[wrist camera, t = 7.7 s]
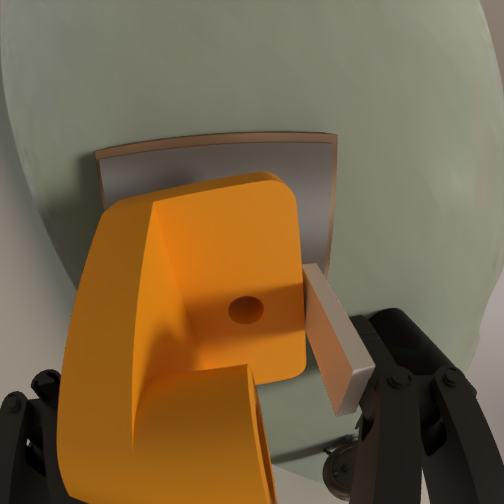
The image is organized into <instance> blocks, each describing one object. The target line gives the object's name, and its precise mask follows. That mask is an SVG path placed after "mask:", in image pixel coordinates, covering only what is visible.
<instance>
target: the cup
mask: <svg viewBox="0 0 504 504" xmlns="http://www.w3.org/2000/svg"><path fill="white" fill-rule="evenodd" d="M368 321H370V322H371V324H372V325H373V327H374V329H375V330H376V333H378V335H379V336H380V340H382V341H383V343H384V344H385V346H386V348H387V349H388V351H389V353H390V354H391V356H392V357H393V359H394V361H395V362H396V364H397V365H398V366H401V367H404V368H406V369H408V370H410V371H411V373H412V374H413V375H417V376H424V375H434V374H435V373H436V371H437V370H438V369H439V368H440V367H442V366H444V365H451V366H454V364H453V363H452V362H451V361H450V360H449V359H448V358H447V357H446V356H445V355H444V354H443V352H442V351H441V350H440V349H439V348H438V347H437V346H436V345H435V344H434V343H433V342H432V341H431V340H430V339H429V338H428V337H427V336H426V334H425V333H424V332H423V331H422V330H421V329H420V328H419V327H418V326H417V325H416V324H415V323H414V322H413V321H412V320H411V319H410V318H409V317H408V316H407V315H406V314H405V313H404V312H403V311H402V310H400V309H397V308H389V309H385V310H382V311H380V312H379V313H377V314H375V315H374V316H373V317H371V318H370V319H369V320H368ZM454 367H455V366H454ZM467 381H468V380H467ZM468 383H469V385H470V387H471V389H472V391H473V393H474V395H475V397H476V394H477V391H476V389H475V388H474V387H473V386H472V385H471V384H470V382H469V381H468Z"/></svg>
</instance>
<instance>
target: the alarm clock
mask: <svg viewBox="0 0 504 504" xmlns="http://www.w3.org/2000/svg"><path fill="white" fill-rule="evenodd" d="M346 440H347V443H345V444H343V445H341V446H339V447H338V448H336V449H335V450H334V451H333V452H330V451H327V450H326V449H323V452H325V453H327V455H329V457H328V458H327V460H326V462H325V464H324V467H323V480H324V483H325V485H326V487H327V488H328V490H329V491H330V492H331V493H332V494H333V495H334V496H335V497H337V498H339V499H341V500H344V501H349V500H350V495H351V489H352V483H353V476H354V470H355V462H356V454H357V445H358V440H353V441H351V438H350V436H349V435H346Z"/></svg>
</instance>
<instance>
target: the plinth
mask: <svg viewBox="0 0 504 504" xmlns="http://www.w3.org/2000/svg"><path fill="white" fill-rule="evenodd" d="M337 141H338V135H336V134H330V133H323V132H291V131H265V132H233V133H216V134H202V135H191V136H181V137H172V138H163V139H156V140H149V141H142V142H135V143H129V144H123V145H117V146H112V147H108V148H104V149H101V150H98V151H95V157H96V165H97V172H98V179H99V186H100V192H101V198H102V203H103V209H104V212H105V211H107V210H108V209H109V208H110V207H111V206H112V205H114V204H115V203H116V202H117V201H119V200H123V199H127V198H131V197H135V196H139V195H143V194H147V193H151V192H155V191H160V190H164V189H169V188H173V187H178V186H183V185H187V184H192V183H197V182H202V181H207V180H213V179H218V178H223V177H229V176H235V175H241V174H247V173H253V172H260V171H265V172H270V173H273V174H275V175H276V176H278V177H279V178H280V179H281V180H282V181H283V182H284V183H285V184H286V185H287V186H288V187H289V188H290V190H291V191H292V192H293V194H294V196H295V198H296V203H297V212H298V224H299V236H300V248H301V262H302V264H313V263H317V265H318V267H319V268H320V270H321V272H322V273H323V275H324V277H325V278H326V280H327V277H328V269H329V260H330V251H331V241H332V230H333V218H334V205H335V190H336V170H337Z"/></svg>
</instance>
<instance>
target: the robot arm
mask: <svg viewBox="0 0 504 504" xmlns="http://www.w3.org/2000/svg"><path fill="white" fill-rule="evenodd" d="M302 277H303V294H304V314H305V331H306V334H307V337H308V340H309V342H310V345H311V348H312V351H313V353H314V356H315V359H316V362H317V364H318V367H319V370H320V373H321V375H322V378H323V381H324V384H325V387H326V389H327V392H328V395H329V398H330V401H331V404H332V406H333V409H334V412H335V415H336V417H337V416H342V415H346V414H350V413H354V412H355V411H356V409H357V407H358V405H360V407H361V410H362V414H361V416H360V418H359V420H358V422H357V424H356V427H355V429H358V427H359V435H358V445H357V454H356V462H355V470H354V476H353V483H352V489H351V495H350V500H349V504H420V501H421V480H422V478H421V477H422V469H423V473H424V477H425V481H426V486H427V490H428V495H429V499H430V504H504V465H503V461H502V459H501V456H500V453H499V450H498V448H497V445H496V443H495V440H494V438H493V435H492V433H491V430H490V428H489V426H488V423H487V421H486V419H485V417H484V414H483V412H482V410H481V408H480V406H479V403H478V402H477V399H476V397H475V395H474V393H473V391H472V389H471V387H470V385H469V383H468V381H467V379H466V378H465V376H464V374H463V373H462V372H461V370H459V369H458V368H456V367H454V366H451V365H444V366H442V367H440V368H439V369H438V370H437V371H436V373H435V374H434V375H424V376H417V375H413V374H412V373H411V371H410V370H408V369H406V368H404V367H401V366H398V365H397V364H396V362H395V361H394V359H393V357H392V356H391V354H390V353H389V351H388V349H387V348H386V346H385V344H384V343H383V341H382V340H380V336H379V335H378V333H376V330H375V329H374V327H373V325H372V324H371V322H370V321H368V320H367V319H366V318H364V317H363V316H362V315H359V316H352V317H348V315H347V314H346V312H345V310H344V309H343V307H342V305H341V303H340V302H339V300H338V298H337V297H336V295H335V293H334V292H333V290H332V288H331V287H330V285H329V283H328V282H327V280H326V278H325V277H324V275H323V273H322V272H321V270H320V268H319V267H318V265H317V263H313V264H302ZM60 382H61V375H60V374H59V372H57V371H55V370H53V369H51V370H44V371H42V372H40V373H39V374H37V375H36V376H35V378H34V379H33V380H32V383H31V388H32V389H33V390H34V391H35V393H36V394H37V396H38V397H39V399H30V400H28V399H27V398H26V396H25V395H24V394H23V393H22V392H19V391H16V392H12V393H10V394H8V395H7V396H6V397H5V399H4V401H3V402H2V405H1V408H0V504H89V503H86V502H83V501H81V500H78V499H76V498H74V497H71V496H69V494H68V492H67V490H66V488H65V485H64V482H63V480H62V477H61V473H60V469H59V463H58V457H57V418H58V403H59V391H60ZM27 439H29V440H30V443H29V445H28V446H27V445H26V444H27Z"/></svg>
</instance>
